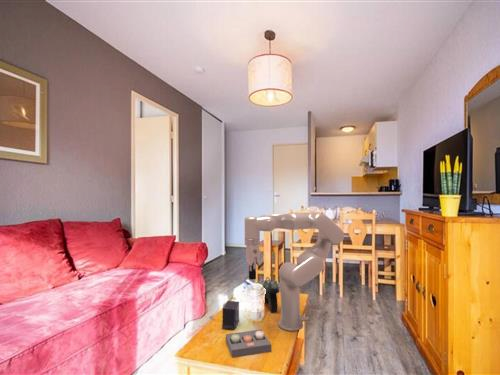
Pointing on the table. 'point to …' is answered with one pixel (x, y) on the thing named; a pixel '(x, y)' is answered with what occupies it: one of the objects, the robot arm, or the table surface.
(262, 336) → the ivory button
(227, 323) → the small box
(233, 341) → the sage button
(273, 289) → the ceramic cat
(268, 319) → the table surface
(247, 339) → the terracotta button
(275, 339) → the table surface
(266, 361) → the table surface
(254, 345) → the button box
